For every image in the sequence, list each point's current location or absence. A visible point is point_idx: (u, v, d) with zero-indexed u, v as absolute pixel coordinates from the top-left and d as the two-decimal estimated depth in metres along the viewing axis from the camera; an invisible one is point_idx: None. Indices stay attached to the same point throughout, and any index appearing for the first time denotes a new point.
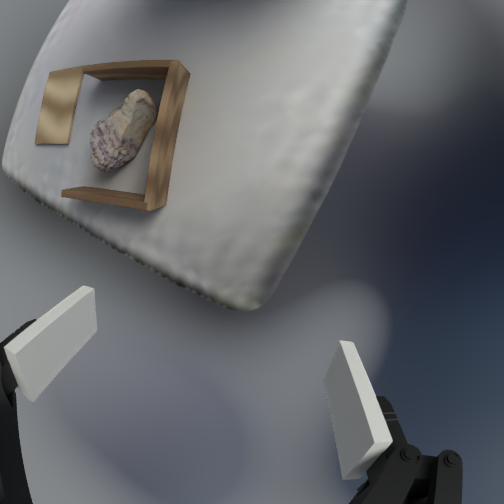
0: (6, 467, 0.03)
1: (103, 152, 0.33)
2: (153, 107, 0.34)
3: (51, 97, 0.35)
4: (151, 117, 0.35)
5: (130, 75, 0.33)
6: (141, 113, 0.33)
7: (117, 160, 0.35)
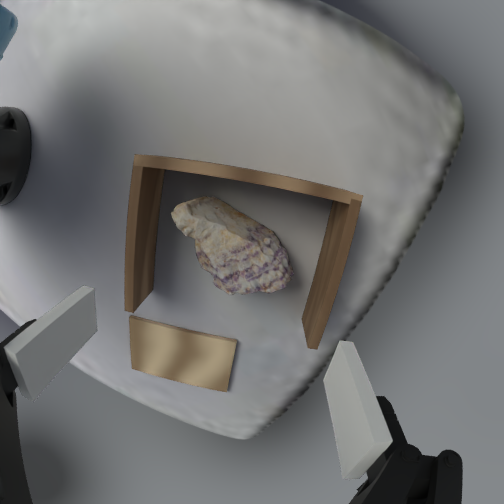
0: (5, 467, 0.03)
1: (264, 271, 0.26)
2: (202, 198, 0.27)
3: (166, 366, 0.35)
4: (216, 202, 0.28)
5: (150, 240, 0.29)
6: (210, 212, 0.26)
7: (278, 251, 0.27)
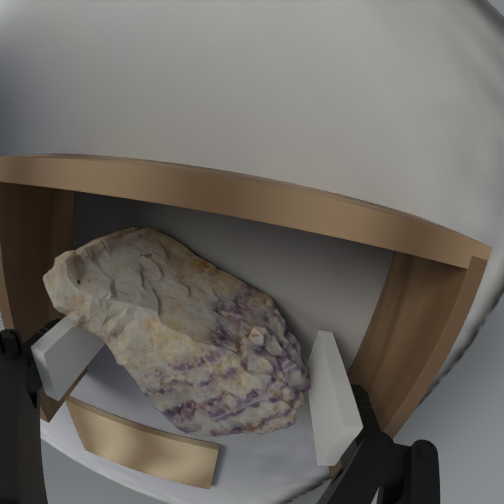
0: (24, 470, 0.04)
1: (250, 405, 0.10)
2: (121, 234, 0.12)
3: (126, 457, 0.20)
4: (153, 240, 0.13)
5: None
6: (127, 270, 0.11)
7: (283, 356, 0.11)
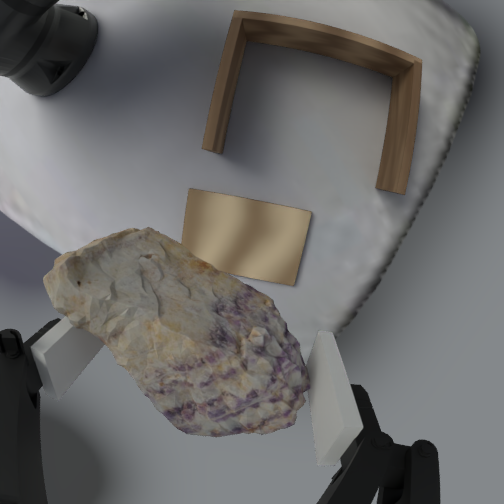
0: (24, 470, 0.04)
1: (250, 405, 0.10)
2: (121, 235, 0.12)
3: (225, 252, 0.33)
4: (152, 241, 0.13)
5: (231, 94, 0.27)
6: (127, 271, 0.11)
7: (283, 356, 0.12)
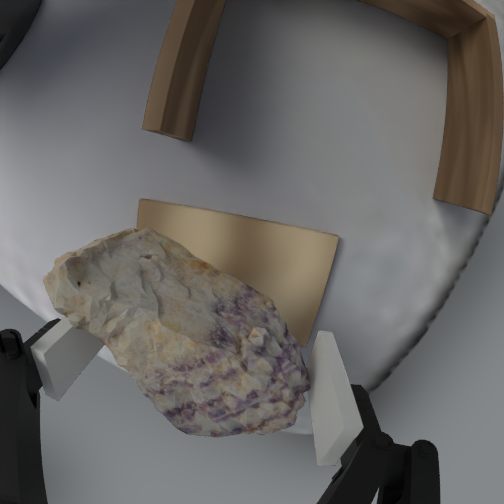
0: (24, 470, 0.04)
1: (250, 405, 0.10)
2: (121, 235, 0.12)
3: None
4: (152, 242, 0.13)
5: (205, 43, 0.14)
6: (127, 272, 0.11)
7: (283, 356, 0.12)
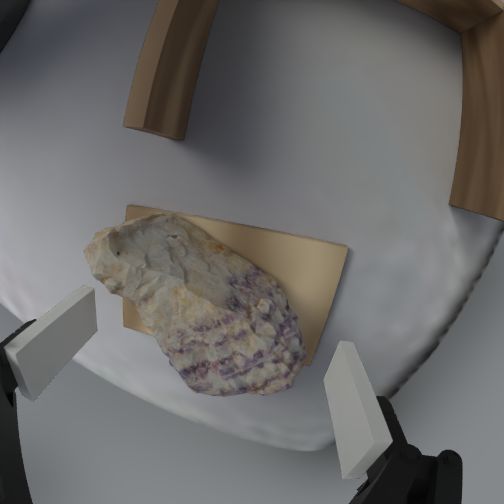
0: (5, 467, 0.03)
1: (256, 365, 0.13)
2: (151, 217, 0.15)
3: None
4: (177, 224, 0.15)
5: (198, 32, 0.12)
6: (158, 247, 0.13)
7: (284, 324, 0.14)
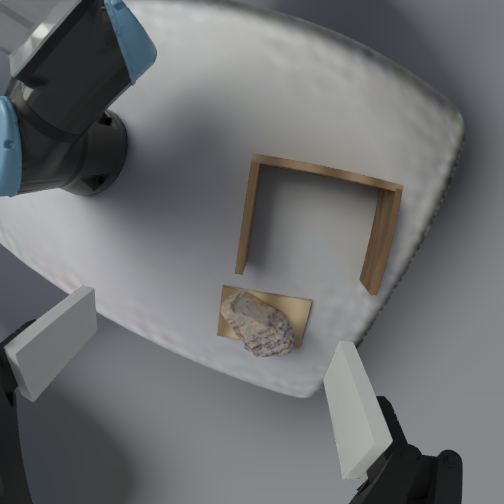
0: (5, 467, 0.03)
1: (277, 344, 0.40)
2: (238, 295, 0.42)
3: None
4: (247, 296, 0.43)
5: (252, 220, 0.40)
6: (244, 307, 0.41)
7: (287, 330, 0.41)
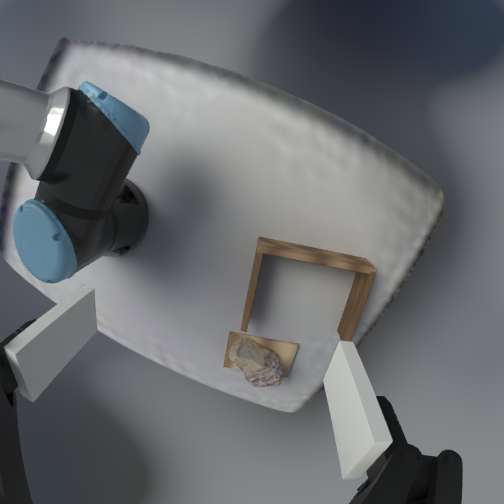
0: (6, 467, 0.03)
1: (271, 378, 0.51)
2: (242, 341, 0.53)
3: None
4: (248, 342, 0.54)
5: None
6: (246, 351, 0.51)
7: (278, 368, 0.52)
